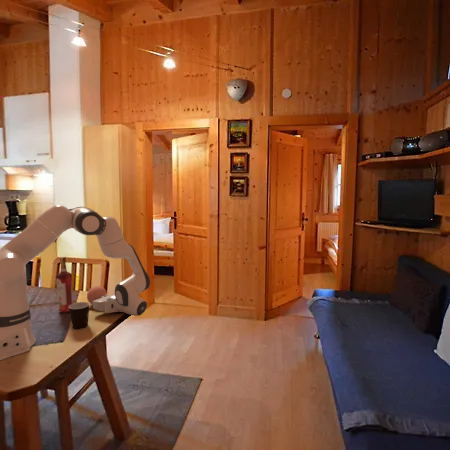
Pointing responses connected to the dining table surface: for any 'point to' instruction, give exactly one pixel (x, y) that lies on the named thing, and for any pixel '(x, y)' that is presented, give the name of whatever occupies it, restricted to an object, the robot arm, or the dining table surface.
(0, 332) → the robot arm
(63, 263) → the liquor
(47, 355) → the dining table surface
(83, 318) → the coffee mug
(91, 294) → the ball
